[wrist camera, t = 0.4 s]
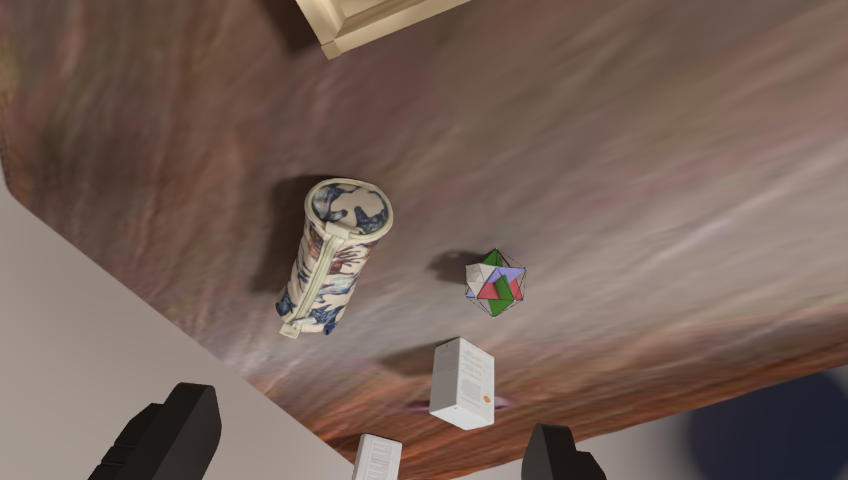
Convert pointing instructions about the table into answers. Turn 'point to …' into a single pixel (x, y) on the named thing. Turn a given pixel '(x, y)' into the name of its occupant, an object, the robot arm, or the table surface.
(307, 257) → the pencil case
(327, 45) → the wooden tray
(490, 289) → the geometric puzzle
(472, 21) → the table surface
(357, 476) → the photo printer
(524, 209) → the table surface
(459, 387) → the small box
